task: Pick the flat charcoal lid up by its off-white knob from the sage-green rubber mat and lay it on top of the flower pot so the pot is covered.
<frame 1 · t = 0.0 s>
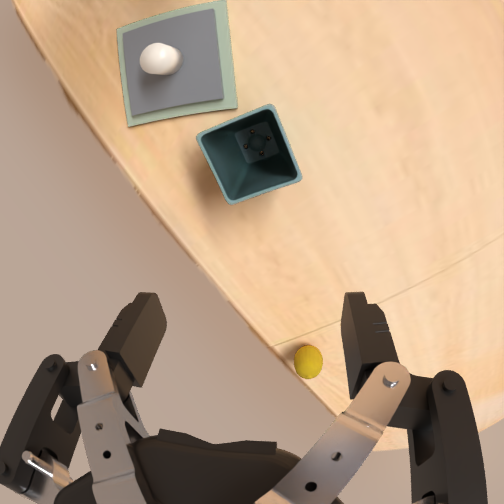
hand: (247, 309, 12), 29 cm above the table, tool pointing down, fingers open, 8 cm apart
mat: (173, 62, 31), on the table
lid: (171, 61, 30), point 1 cm above the table, touching mat
lemon: (307, 345, 55), on the table
flower pot: (257, 142, 36), on the table
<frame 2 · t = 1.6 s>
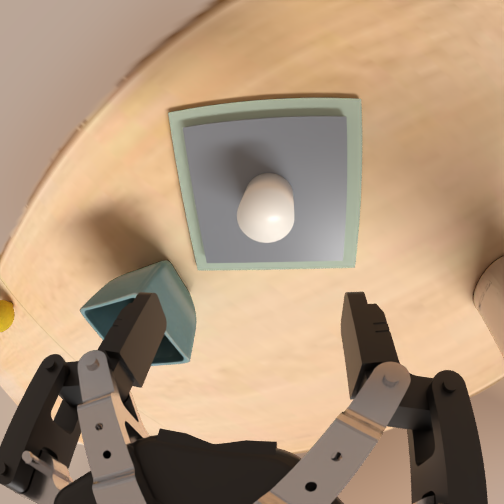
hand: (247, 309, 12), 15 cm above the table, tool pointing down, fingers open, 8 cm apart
mat: (270, 189, 25), on the table
lid: (269, 192, 24), point 1 cm above the table, touching mat
lemon: (12, 302, 41), on the table
flower pot: (163, 280, 32), on the table
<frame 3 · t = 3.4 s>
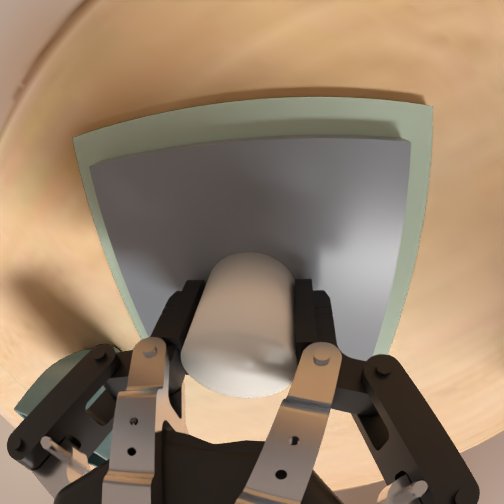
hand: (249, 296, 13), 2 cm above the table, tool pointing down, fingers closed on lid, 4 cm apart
mat: (255, 269, 14), on the table
lid: (253, 277, 14), point 1 cm above the table, touching gripper, mat
flower pot: (115, 363, 21), on the table
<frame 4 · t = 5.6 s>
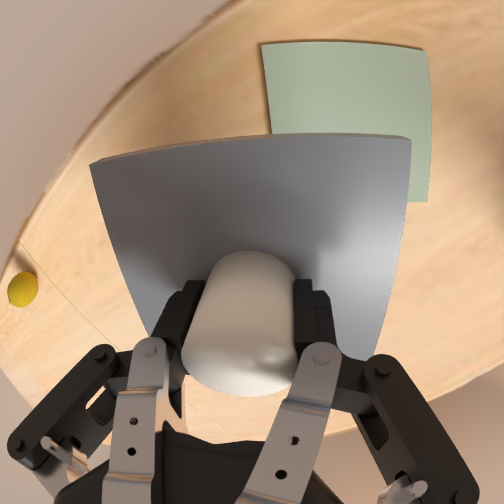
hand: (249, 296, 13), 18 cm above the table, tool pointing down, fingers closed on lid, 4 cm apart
mat: (355, 122, 24), on the table
lid: (254, 275, 14), point 16 cm above the table, touching gripper
lemon: (36, 275, 41), on the table
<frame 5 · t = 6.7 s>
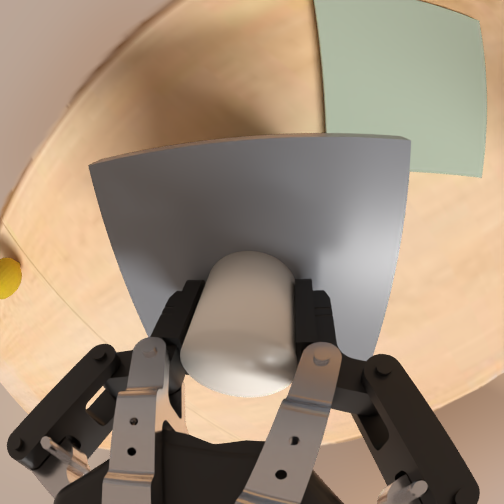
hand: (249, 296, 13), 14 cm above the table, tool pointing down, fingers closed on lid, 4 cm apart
mat: (414, 81, 17), on the table
lid: (253, 276, 14), point 12 cm above the table, touching gripper
lemon: (20, 262, 34), on the table
when the fingers open (12 cm above the table, at t = 7.8 s): lid drops 2 cm, resting on flower pot.
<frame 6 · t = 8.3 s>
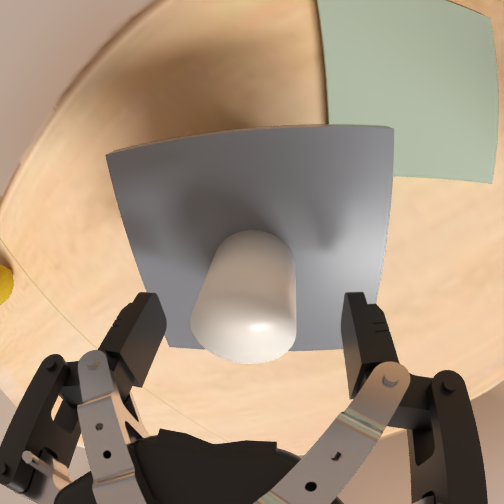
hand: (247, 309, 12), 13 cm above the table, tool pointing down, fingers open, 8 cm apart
mat: (423, 80, 16), on the table
lid: (256, 255, 15), point 9 cm above the table, touching flower pot
lemon: (11, 269, 32), on the table
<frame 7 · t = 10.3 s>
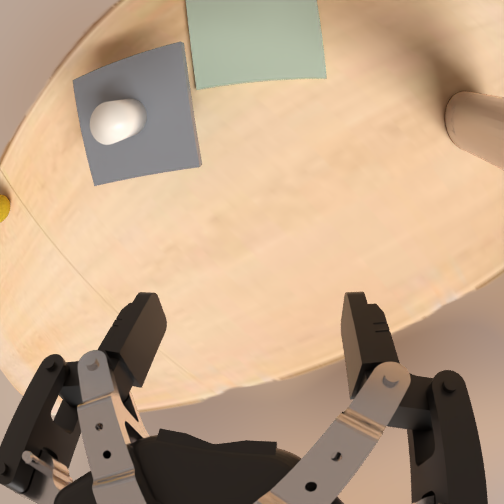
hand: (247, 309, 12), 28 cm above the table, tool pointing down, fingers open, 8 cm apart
mat: (254, 24, 26), on the table
lid: (133, 116, 25), point 9 cm above the table, touching flower pot
lemon: (9, 200, 41), on the table
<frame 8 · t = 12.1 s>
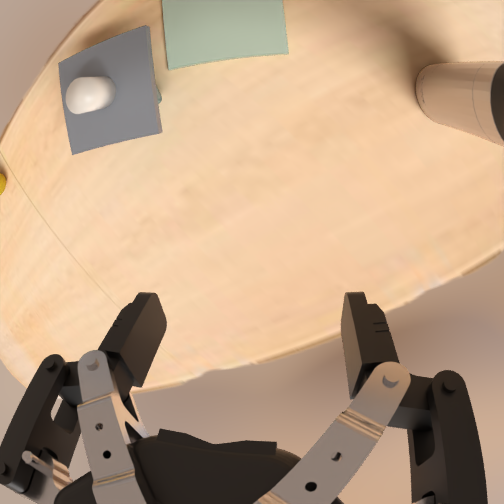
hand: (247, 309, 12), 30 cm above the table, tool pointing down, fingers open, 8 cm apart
mat: (221, 9, 27), on the table
lid: (106, 92, 26), point 9 cm above the table, touching flower pot
lemon: (6, 178, 43), on the table
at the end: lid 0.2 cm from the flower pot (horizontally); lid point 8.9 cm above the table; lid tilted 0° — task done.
